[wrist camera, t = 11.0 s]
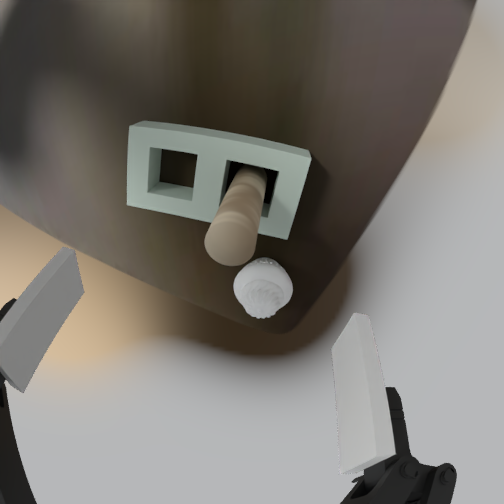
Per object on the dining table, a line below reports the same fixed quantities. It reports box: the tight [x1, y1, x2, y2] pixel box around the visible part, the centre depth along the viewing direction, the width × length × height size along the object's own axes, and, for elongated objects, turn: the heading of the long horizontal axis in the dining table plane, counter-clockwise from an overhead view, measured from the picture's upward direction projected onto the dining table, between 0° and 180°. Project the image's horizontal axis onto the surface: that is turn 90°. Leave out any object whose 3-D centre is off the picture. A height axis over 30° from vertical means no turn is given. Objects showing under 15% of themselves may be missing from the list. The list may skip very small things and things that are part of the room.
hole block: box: [127, 121, 311, 240], centre depth 25 cm, size 16×8×3 cm, turn 79°
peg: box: [205, 164, 267, 266], centre depth 22 cm, size 3×3×12 cm
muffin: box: [234, 257, 293, 319], centre depth 30 cm, size 6×6×7 cm
